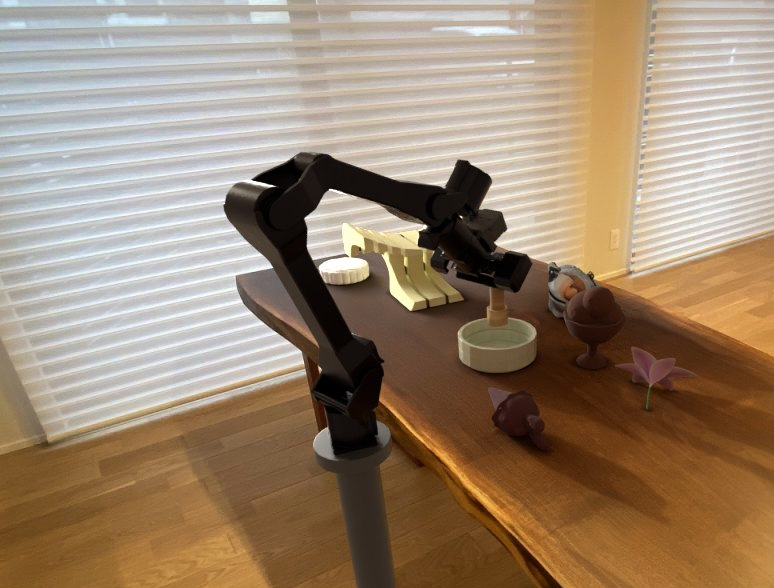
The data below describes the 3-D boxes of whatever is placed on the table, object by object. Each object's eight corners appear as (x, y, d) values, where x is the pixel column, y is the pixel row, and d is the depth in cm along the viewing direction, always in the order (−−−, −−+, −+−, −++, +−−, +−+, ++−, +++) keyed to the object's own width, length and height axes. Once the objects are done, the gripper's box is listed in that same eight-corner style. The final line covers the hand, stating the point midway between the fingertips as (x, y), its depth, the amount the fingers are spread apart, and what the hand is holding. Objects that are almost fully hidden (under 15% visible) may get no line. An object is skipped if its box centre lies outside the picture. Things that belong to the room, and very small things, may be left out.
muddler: (506, 327, 110) (505, 262, 104) (485, 326, 111) (483, 262, 105) (509, 319, 114) (508, 256, 108) (489, 318, 114) (487, 255, 108)
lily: (702, 412, 100) (706, 353, 100) (661, 411, 92) (666, 346, 92) (640, 407, 108) (644, 352, 108) (598, 405, 100) (602, 346, 100)
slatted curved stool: (466, 273, 157) (463, 202, 148) (496, 292, 145) (495, 216, 136) (351, 295, 144) (340, 219, 135) (373, 319, 132) (363, 236, 123)
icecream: (464, 382, 94) (518, 435, 84) (504, 360, 96) (562, 409, 86) (474, 414, 98) (526, 468, 88) (512, 392, 101) (567, 442, 90)
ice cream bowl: (630, 357, 115) (637, 280, 108) (605, 382, 107) (611, 301, 99) (579, 344, 120) (582, 270, 112) (551, 367, 112) (553, 289, 104)
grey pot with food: (622, 315, 132) (618, 270, 120) (577, 345, 130) (568, 302, 119) (581, 277, 140) (573, 232, 129) (538, 305, 138) (526, 261, 127)
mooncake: (310, 278, 154) (308, 264, 153) (348, 266, 163) (346, 252, 161) (341, 288, 148) (339, 274, 146) (379, 275, 156) (377, 261, 154)
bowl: (474, 381, 107) (473, 355, 105) (449, 348, 119) (448, 324, 117) (548, 365, 112) (549, 341, 110) (518, 335, 124) (517, 312, 121)
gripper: (525, 204, 93) (564, 257, 106) (436, 189, 103) (481, 239, 116) (493, 268, 91) (536, 314, 104) (406, 246, 102) (455, 290, 114)
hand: (501, 286), depth 110 cm, fingers closed on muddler, 2 cm apart
